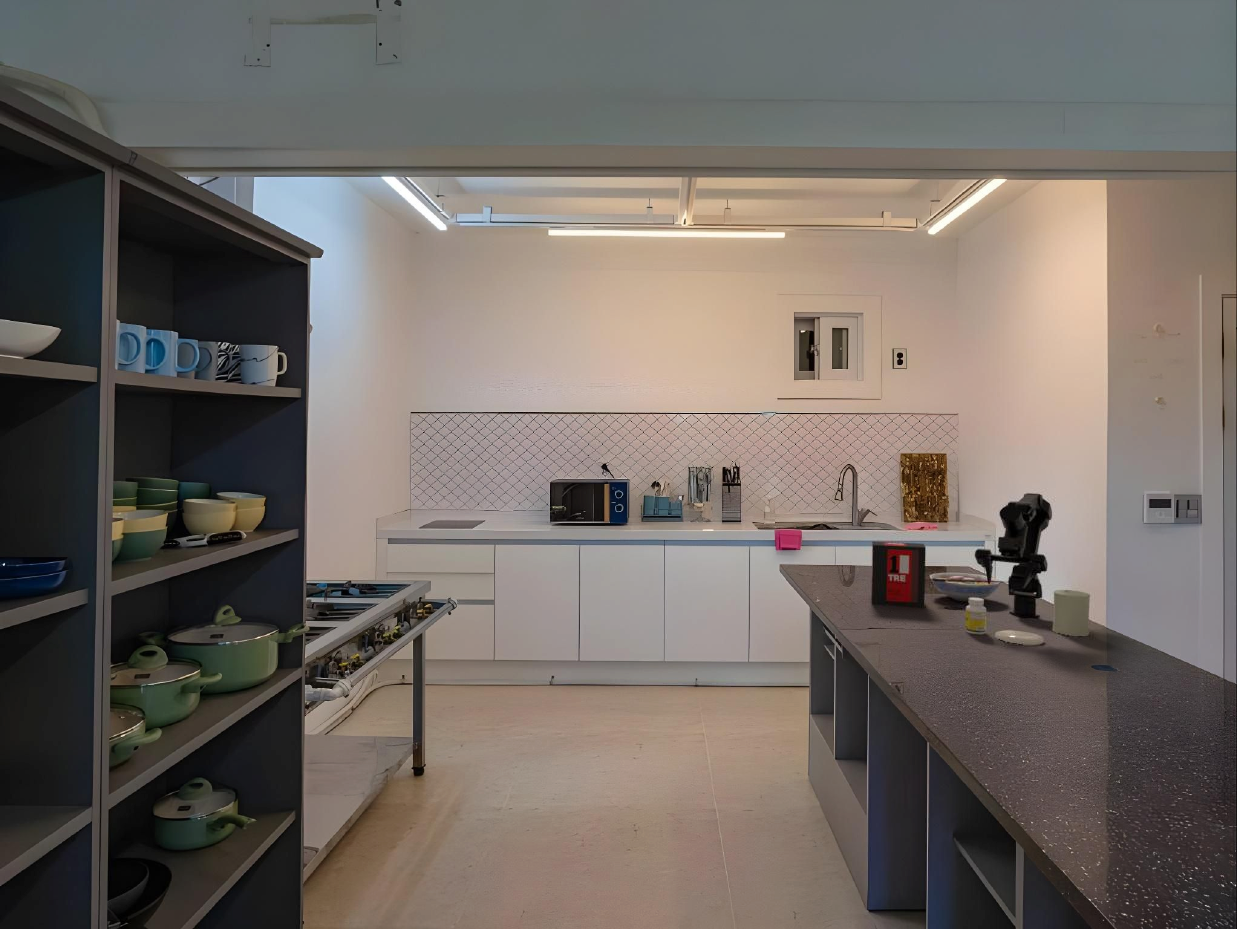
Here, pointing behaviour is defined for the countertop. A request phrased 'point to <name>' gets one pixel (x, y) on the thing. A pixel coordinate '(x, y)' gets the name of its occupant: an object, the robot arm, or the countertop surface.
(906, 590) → the cleaning product box
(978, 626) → the supplement bottle
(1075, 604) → the can
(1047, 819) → the countertop surface
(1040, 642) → the coaster
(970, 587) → the ramen bowl
